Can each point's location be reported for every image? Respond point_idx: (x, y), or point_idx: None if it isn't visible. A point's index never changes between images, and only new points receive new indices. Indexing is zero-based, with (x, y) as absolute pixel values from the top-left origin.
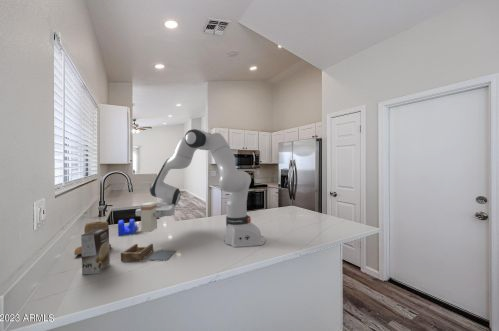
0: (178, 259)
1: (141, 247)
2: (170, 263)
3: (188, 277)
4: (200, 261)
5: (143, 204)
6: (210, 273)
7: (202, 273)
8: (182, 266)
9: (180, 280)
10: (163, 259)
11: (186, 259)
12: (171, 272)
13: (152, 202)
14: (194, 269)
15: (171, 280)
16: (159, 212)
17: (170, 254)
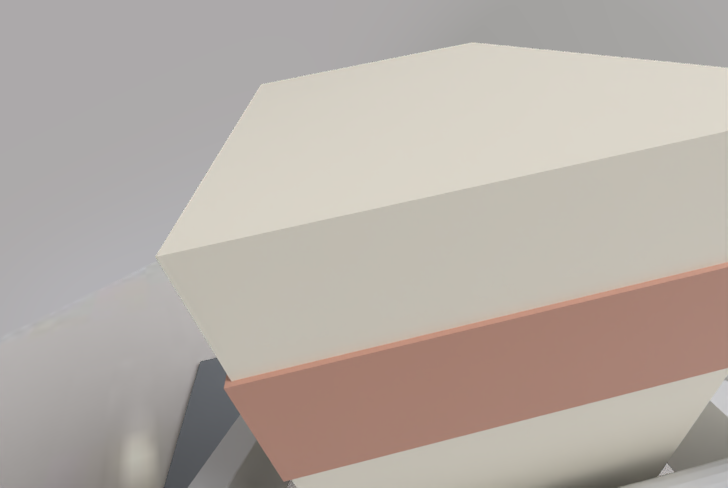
0: (139, 391)
1: None
2: (177, 349)
3: (107, 295)
4: (26, 400)
5: (454, 53)
6: (25, 329)
7: (54, 322)
8: (122, 342)
9: (133, 280)
10: (215, 361)
11: (95, 402)
12: (164, 301)
13: (482, 166)
14: (76, 336)
15: (159, 274)
16: (203, 485)
17: (189, 423)
